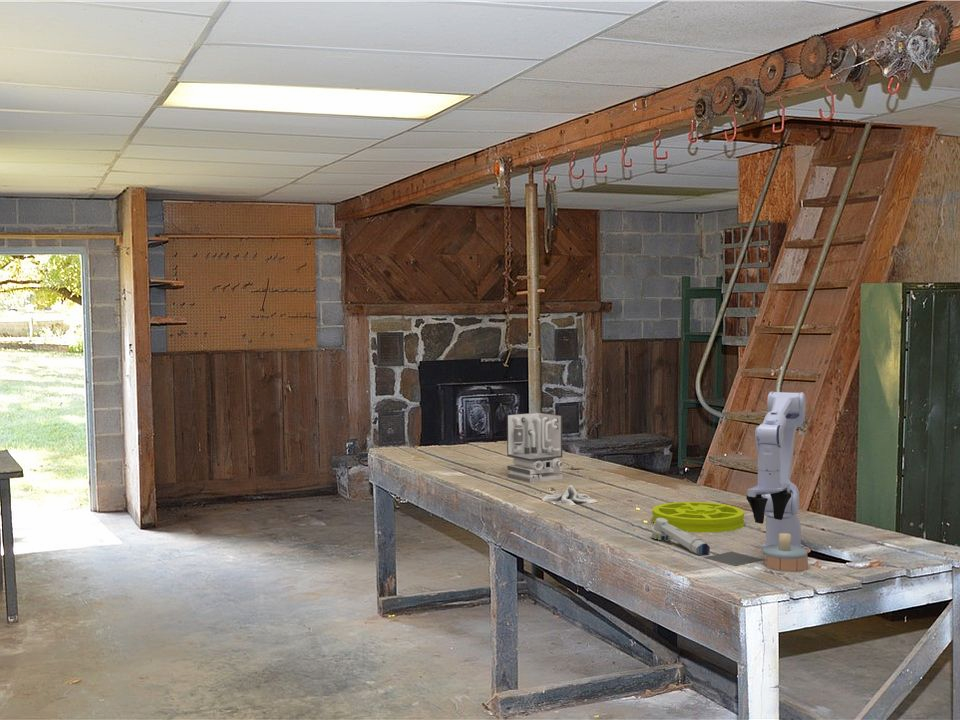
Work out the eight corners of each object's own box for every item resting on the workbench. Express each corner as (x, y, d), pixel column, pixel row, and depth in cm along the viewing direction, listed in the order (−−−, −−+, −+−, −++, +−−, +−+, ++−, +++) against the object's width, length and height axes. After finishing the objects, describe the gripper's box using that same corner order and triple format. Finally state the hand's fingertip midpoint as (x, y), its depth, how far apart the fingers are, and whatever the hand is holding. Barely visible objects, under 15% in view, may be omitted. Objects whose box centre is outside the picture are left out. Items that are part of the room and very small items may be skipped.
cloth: (534, 499, 350) (534, 481, 349) (583, 496, 354) (583, 479, 354) (555, 511, 328) (555, 492, 328) (607, 507, 333) (607, 489, 333)
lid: (779, 546, 259) (779, 527, 259) (816, 554, 250) (816, 534, 250) (753, 552, 252) (753, 533, 252) (790, 561, 244) (790, 541, 243)
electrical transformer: (539, 473, 402) (538, 412, 401) (567, 480, 386) (567, 416, 384) (507, 477, 393) (507, 415, 392) (535, 484, 377) (534, 419, 376)
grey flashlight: (696, 543, 262) (648, 513, 285) (694, 567, 263) (647, 535, 286) (712, 542, 264) (664, 512, 287) (711, 565, 265) (662, 534, 288)
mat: (731, 552, 267) (731, 551, 267) (763, 561, 258) (763, 559, 258) (703, 558, 261) (703, 557, 261) (735, 567, 252) (735, 566, 252)
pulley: (744, 516, 315) (744, 501, 315) (743, 535, 289) (743, 518, 288) (656, 512, 323) (656, 497, 323) (648, 531, 296) (648, 514, 296)
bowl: (782, 560, 258) (783, 547, 258) (815, 568, 250) (815, 554, 250) (757, 566, 253) (757, 552, 252) (789, 574, 244) (789, 560, 244)
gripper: (762, 474, 251) (762, 527, 252) (799, 469, 259) (799, 520, 260) (741, 470, 257) (741, 522, 257) (777, 465, 265) (777, 515, 266)
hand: (768, 521), depth 259 cm, fingers open, 7 cm apart
